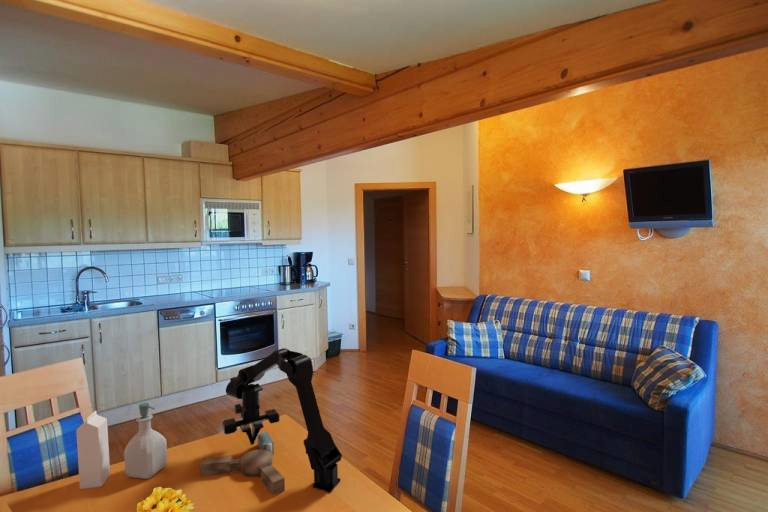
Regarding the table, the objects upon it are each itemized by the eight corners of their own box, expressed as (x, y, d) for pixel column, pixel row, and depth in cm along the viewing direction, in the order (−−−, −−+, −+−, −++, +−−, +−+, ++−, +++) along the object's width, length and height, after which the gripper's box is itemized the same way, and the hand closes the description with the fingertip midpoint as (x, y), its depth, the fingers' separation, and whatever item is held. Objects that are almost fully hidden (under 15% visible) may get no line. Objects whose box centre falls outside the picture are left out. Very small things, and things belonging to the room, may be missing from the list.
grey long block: (275, 456, 142) (274, 444, 142) (265, 459, 141) (264, 446, 140) (267, 442, 152) (267, 430, 152) (257, 444, 150) (257, 433, 150)
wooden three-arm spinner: (305, 469, 134) (305, 458, 134) (276, 498, 120) (276, 485, 120) (231, 450, 146) (230, 440, 146) (196, 475, 132) (195, 463, 132)
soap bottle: (148, 482, 128) (145, 411, 127) (122, 478, 130) (118, 409, 129) (170, 464, 138) (167, 398, 136) (145, 461, 140) (142, 396, 138)
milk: (79, 489, 125) (74, 419, 123) (89, 477, 131) (85, 410, 129) (101, 486, 126) (97, 417, 125) (110, 475, 132) (106, 408, 131)
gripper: (271, 388, 157) (272, 428, 158) (219, 399, 147) (220, 441, 148) (279, 399, 147) (280, 441, 148) (224, 410, 138) (225, 455, 139)
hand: (252, 444), depth 146 cm, fingers closed
